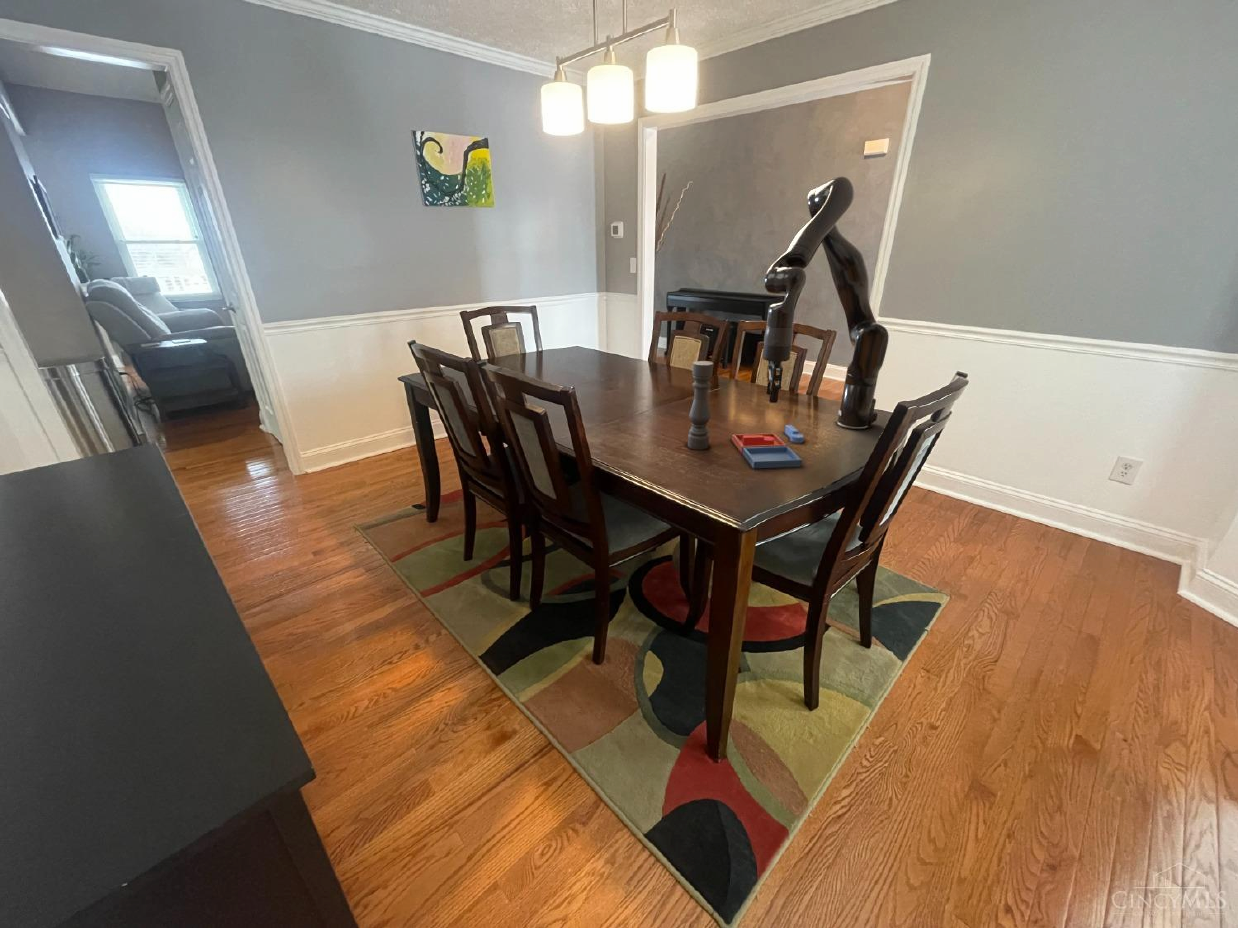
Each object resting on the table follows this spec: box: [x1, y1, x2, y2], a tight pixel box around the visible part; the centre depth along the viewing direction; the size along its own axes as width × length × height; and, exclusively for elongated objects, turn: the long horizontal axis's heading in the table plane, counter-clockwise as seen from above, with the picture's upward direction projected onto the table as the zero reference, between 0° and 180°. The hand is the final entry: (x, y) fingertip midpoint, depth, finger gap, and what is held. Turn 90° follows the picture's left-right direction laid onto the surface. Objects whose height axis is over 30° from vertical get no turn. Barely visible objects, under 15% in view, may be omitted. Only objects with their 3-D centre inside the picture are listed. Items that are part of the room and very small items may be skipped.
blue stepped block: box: [784, 424, 805, 444], centre depth 153 cm, size 9×4×3 cm, turn 4°
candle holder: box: [687, 360, 714, 451], centre depth 143 cm, size 6×6×25 cm
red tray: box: [731, 432, 788, 454], centre depth 147 cm, size 13×10×2 cm
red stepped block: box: [742, 435, 774, 446], centre depth 147 cm, size 9×4×3 cm, turn 93°
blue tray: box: [741, 445, 803, 469], centre depth 137 cm, size 13×10×2 cm
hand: (771, 398), depth 144 cm, fingers open, 8 cm apart
